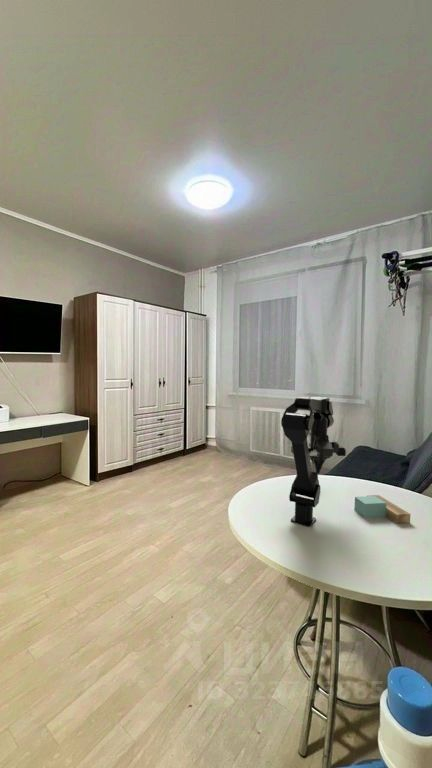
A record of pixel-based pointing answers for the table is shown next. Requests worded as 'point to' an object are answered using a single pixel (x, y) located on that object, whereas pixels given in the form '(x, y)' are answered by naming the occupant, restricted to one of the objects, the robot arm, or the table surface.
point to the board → (395, 512)
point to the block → (370, 506)
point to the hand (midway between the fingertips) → (317, 473)
